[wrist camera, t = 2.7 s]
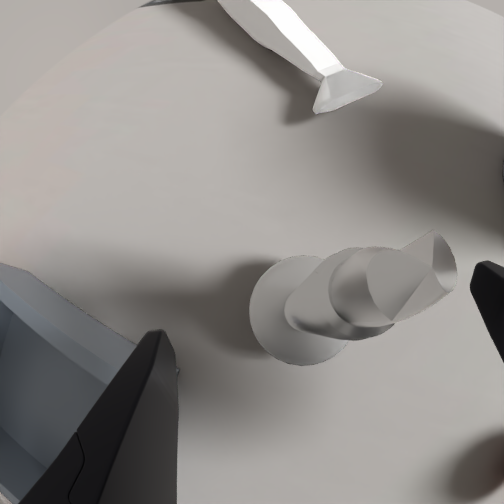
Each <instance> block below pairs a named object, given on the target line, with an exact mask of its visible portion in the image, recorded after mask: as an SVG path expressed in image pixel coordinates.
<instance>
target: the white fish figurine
mask: <svg viewBox="0 0 504 504" xmlns="http://www.w3.org/2000/svg"><path fill="white" fill-rule="evenodd" d="M217 1H218V2H219V3H220V4H221V5H222V7H223V8H224V10H225V11H226V12H227V13H228V14H229V15H230V17H231V18H233V19H234V20H235V21H236V22H237V23H238V24H239V25H240V26H241V27H242V28H243V29H244V30H245V31H246V32H247V33H248V34H249V35H250V36H251V37H252V38H253V39H254V40H255V41H257V42H258V43H259V44H261V45H262V46H264V47H265V48H268V49H271V50H273V51H274V52H276V53H277V54H279V55H280V56H282V57H283V58H285V59H286V60H288V61H289V62H291V63H292V64H294V65H295V66H296V67H298V68H299V69H301V70H302V71H304V72H305V73H307V74H309V75H310V76H312V77H314V78H315V79H317V80H319V81H320V82H321V85H320V88H319V91H318V94H317V97H316V100H315V103H314V106H313V109H312V111H313V112H314V113H315V114H319V113H324V112H329V111H333V110H336V109H338V108H341V107H343V106H345V105H347V104H349V103H352V102H354V101H356V100H358V99H361V98H363V97H365V96H367V95H370V94H372V93H374V92H376V91H378V89H379V88H380V87H381V86H382V85H383V83H382V81H381V80H379V79H376V78H373V77H370V76H367V75H364V74H361V73H358V72H355V71H352V70H349V69H346V68H345V67H344V66H343V65H342V64H341V63H340V62H339V61H338V59H337V58H336V57H335V56H334V54H333V53H332V52H331V51H330V50H329V49H328V48H327V47H326V46H325V45H324V44H323V43H322V42H321V41H320V40H319V39H318V37H317V36H316V35H315V34H314V33H313V32H312V31H311V30H310V29H309V28H308V27H307V26H306V25H305V24H304V23H303V22H302V21H301V19H300V18H299V17H298V16H297V15H296V13H295V12H294V11H293V10H292V9H291V8H290V7H289V6H288V5H287V4H286V3H284V2H283V1H282V0H217Z"/></svg>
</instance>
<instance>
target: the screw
mask: <svg viewBox="0 0 504 504" xmlns="http://www.w3.org/2000/svg"><path fill="white" fill-rule="evenodd" d="M456 282H457V268H456V263H455V259H454V256H453V254H452V252H451V249H450V247H449V246H448V244H447V243H446V241H445V240H444V239H443V237H442V236H441V235H440V234H438V233H437V232H436V231H435V230H432V231H431V232H429V233H427V234H426V235H424V236H422V237H421V238H419V239H417V240H416V241H414V242H412V243H411V244H409V245H407V246H406V247H404V248H402V249H400V250H396V249H391V248H385V247H367V248H349V249H345V250H342V251H340V252H338V253H336V254H333V255H331V256H329V257H328V258H326V259H322V258H318V257H315V256H304V255H302V256H295V257H290V258H287V259H284V260H282V261H279V262H278V263H276V264H275V265H273V266H271V267H270V268H269V269H268V270H267V271H266V272H265V273H264V274H263V275H262V276H261V277H260V279H259V280H258V282H257V284H256V285H255V287H254V290H253V292H252V295H251V298H250V306H249V316H250V323H251V327H252V330H253V333H254V335H255V337H256V338H257V340H258V342H259V344H260V345H261V346H262V347H263V348H264V349H265V350H266V351H267V352H268V353H269V354H271V355H272V356H274V357H275V358H276V359H278V360H281V361H283V362H286V363H288V364H293V365H299V366H304V365H314V364H318V363H321V362H324V361H326V360H328V359H330V358H332V357H334V356H335V355H336V354H338V353H339V352H340V351H341V350H342V349H343V348H344V347H345V346H346V344H347V343H348V342H349V340H362V339H366V338H369V337H374V336H377V335H379V334H382V333H384V332H385V331H387V330H388V329H390V328H391V327H392V326H393V325H394V324H395V323H396V322H399V321H402V320H405V319H407V318H410V317H412V316H414V315H416V314H418V313H420V312H422V311H424V310H426V309H427V308H429V307H431V306H432V305H434V304H435V303H437V302H438V301H440V300H441V299H443V298H444V297H445V296H446V295H448V294H449V293H450V292H451V291H452V290H453V289H454V287H455V285H456Z"/></svg>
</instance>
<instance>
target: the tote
mask: <svg viewBox="0 0 504 504" xmlns="http://www.w3.org/2000/svg"><path fill="white" fill-rule="evenodd" d="M136 346H137V345H136V344H134V343H132V342H131V341H129V340H127V339H126V338H124V337H122V336H121V335H119V334H118V333H116V332H114V331H113V330H111V329H110V328H108V327H106V326H105V325H103V324H102V323H100V322H99V321H97V320H95V319H94V318H92V317H91V316H89V315H88V314H86V313H85V312H83V311H82V310H80V309H79V308H77V307H76V306H75V305H73V304H72V303H70V302H69V301H67V300H66V299H64V298H63V297H62V296H60V295H59V294H57V293H56V292H55V291H53V290H52V289H51V288H49V287H48V286H47V285H45V284H44V283H42V282H41V281H40V280H39V279H37V278H36V277H35V276H33V275H32V274H31V273H29V272H28V271H25V270H22V269H18V268H15V267H12V266H8V265H5V264H2V263H0V492H1V493H2V494H3V495H4V496H5V497H6V498H7V499H8V500H9V501H11V502H12V503H13V504H18V503H19V502H20V501H21V500H22V498H23V497H24V496H25V495H26V494H27V492H28V491H29V490H30V489H31V488H32V487H33V485H34V484H35V483H36V482H37V481H38V479H39V478H40V477H41V476H42V475H43V473H44V472H45V471H46V470H47V469H48V467H49V466H50V465H51V464H52V462H53V461H54V460H55V459H56V457H57V456H58V455H59V453H60V452H61V451H62V449H63V448H64V446H65V445H66V444H67V442H68V441H69V439H70V438H71V436H72V435H73V434H74V432H77V431H76V430H77V428H78V427H79V425H80V424H81V422H82V421H83V419H84V418H85V417H86V415H87V414H88V412H89V411H90V410H91V408H92V407H93V405H94V404H95V402H96V401H97V400H98V398H99V397H100V395H101V394H102V393H103V391H104V390H105V389H106V387H107V386H108V384H109V383H110V382H111V380H112V379H113V377H114V376H115V375H116V373H117V372H118V371H119V369H120V368H121V367H122V365H123V364H124V362H125V361H126V360H127V358H128V357H129V356H130V354H131V353H132V352H133V350H134V349H135V348H136ZM179 370H180V369H179V368H177V367H176V376H177V375H178V372H179Z"/></svg>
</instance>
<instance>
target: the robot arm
mask: <svg viewBox="0 0 504 504" xmlns="http://www.w3.org/2000/svg"><path fill="white" fill-rule="evenodd" d="M470 291H471V294H472V296H473V298H474V300H475V302H476V304H477V307H478V309H479V311H480V313H481V316H482V318H483V320H484V323H485V325H486V327H487V330H488V332H489V334H490V336H491V338H492V340H493V342H494V344H495V346H496V348H497V350H498V352H499V354H500V356H501V358H502V360H503V362H504V267H502V266H500V265H497V264H495V263H493V262H491V261H482V262H479V263H477V264H476V266H475V269H474V272H473V276H472V279H471V283H470ZM178 413H179V407H178V391H177V376H176V358H175V352H174V349H173V347H172V345H171V343H170V341H169V339H168V337H167V335H166V333H165V331H164V330H162V329H159V330H151V331H148V332H147V333H146V334H145V335H144V337H143V338H142V339H141V341H140V342H139V344H138V345H137V346H136V348H135V349H134V350H133V352H132V353H131V354H130V356H129V357H128V358H127V360H126V361H125V362H124V364H123V365H122V367H121V368H120V369H119V371H118V372H117V373H116V375H115V376H114V377H113V379H112V380H111V382H110V383H109V384H108V386H107V387H106V389H105V390H104V391H103V393H102V394H101V395H100V397H99V398H98V400H97V401H96V402H95V404H94V405H93V407H92V408H91V410H90V411H89V412H88V414H87V415H86V417H85V418H84V419H83V421H82V422H81V424H80V425H79V427H78V428H77V430H76V431H77V432H74V434H73V435H72V436H71V438H70V439H69V441H68V442H67V444H66V445H65V446H64V448H63V449H62V451H61V452H60V453H59V455H58V456H57V457H56V459H55V460H54V461H53V462H52V464H51V465H50V466H49V467H48V469H47V470H46V471H45V472H44V473H43V475H42V476H41V477H40V478H39V479H38V481H37V482H36V483H35V484H34V485H33V487H32V488H31V489H30V490H29V491H28V492H27V494H26V495H25V496H24V497H23V498H22V500H21V501H20V502H19V503H18V504H177V442H178Z"/></svg>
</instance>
